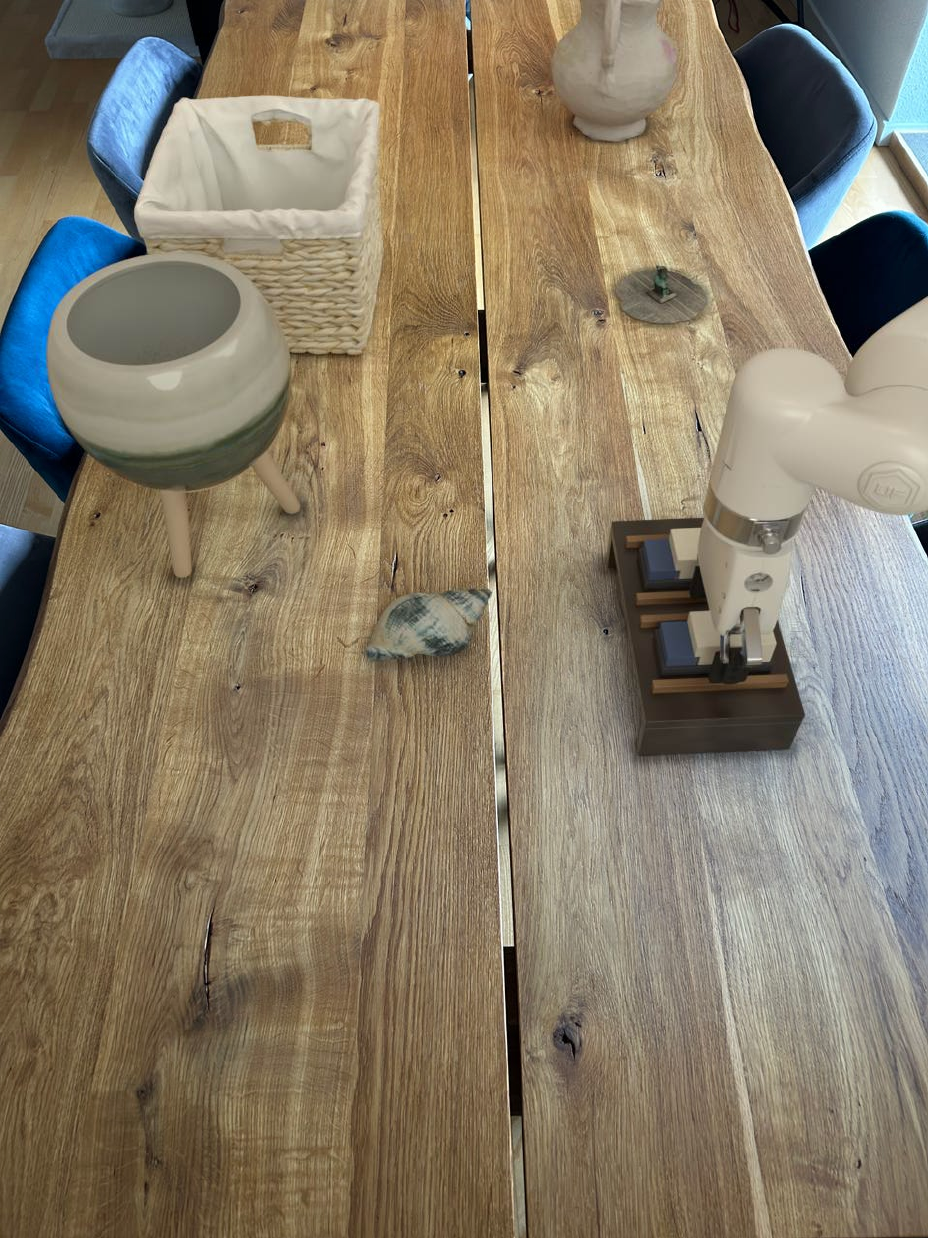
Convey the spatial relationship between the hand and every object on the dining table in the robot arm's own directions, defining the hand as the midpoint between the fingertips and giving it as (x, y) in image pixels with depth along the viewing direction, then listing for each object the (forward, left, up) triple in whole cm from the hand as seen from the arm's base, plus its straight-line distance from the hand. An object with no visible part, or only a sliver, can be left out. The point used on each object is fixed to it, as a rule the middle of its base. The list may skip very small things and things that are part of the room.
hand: (716, 636), depth 91 cm
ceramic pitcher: (-5, -109, -9) cm, 109 cm away
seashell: (+26, -7, -9) cm, 28 cm away
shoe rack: (0, -5, -9) cm, 10 cm away
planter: (+49, -25, -9) cm, 56 cm away
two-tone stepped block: (0, -10, -3) cm, 10 cm away
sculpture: (-6, -63, -9) cm, 64 cm away
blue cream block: (0, 0, -3) cm, 3 cm away
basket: (+44, -65, -9) cm, 79 cm away
